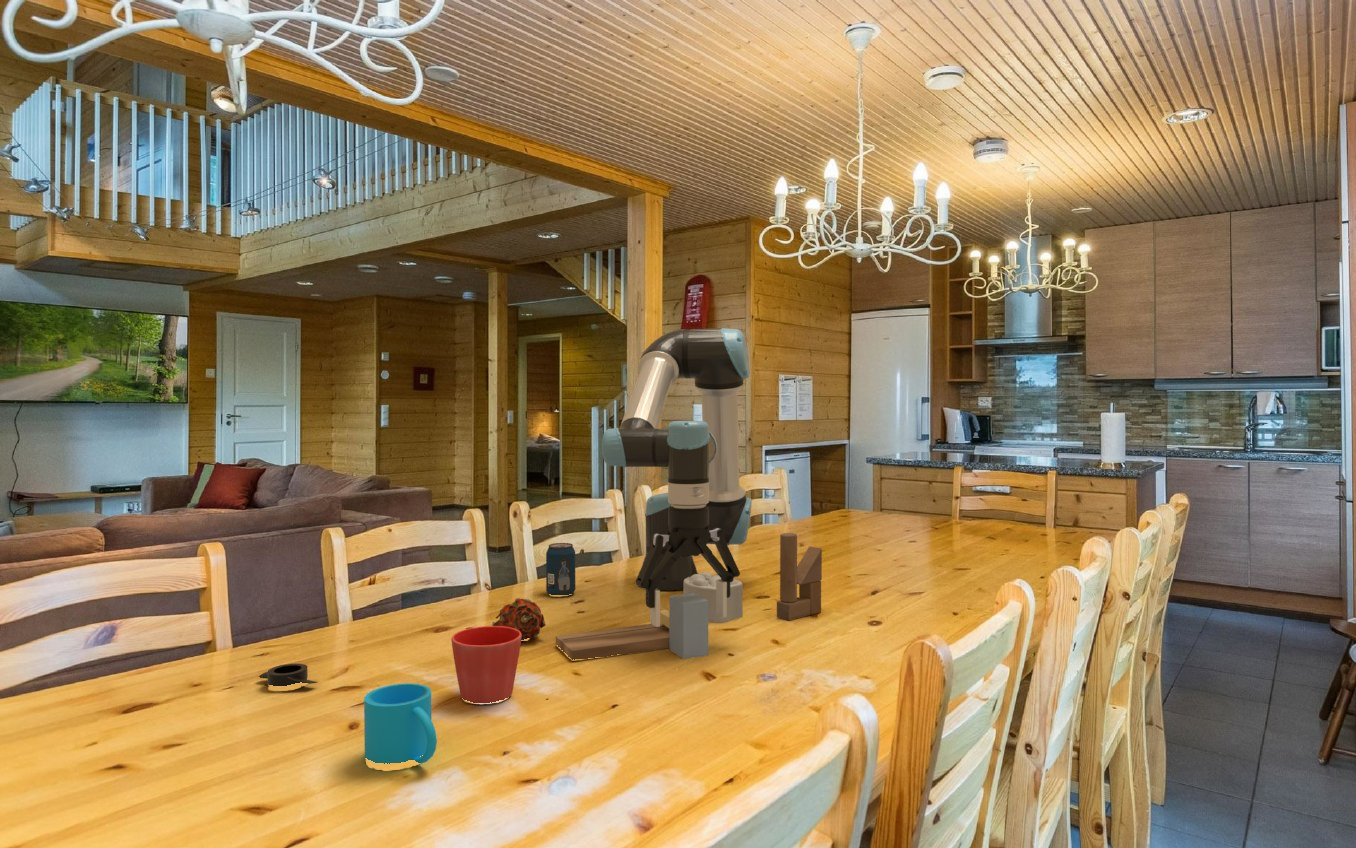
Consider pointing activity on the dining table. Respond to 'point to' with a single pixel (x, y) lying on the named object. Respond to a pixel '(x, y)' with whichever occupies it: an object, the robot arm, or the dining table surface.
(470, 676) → the flower pot
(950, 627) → the dining table surface
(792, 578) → the wooden block
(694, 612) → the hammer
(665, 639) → the board
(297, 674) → the black winged ring
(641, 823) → the dining table surface
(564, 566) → the soda can
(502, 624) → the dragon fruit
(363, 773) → the dining table surface
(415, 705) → the mug
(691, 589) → the paw mold
